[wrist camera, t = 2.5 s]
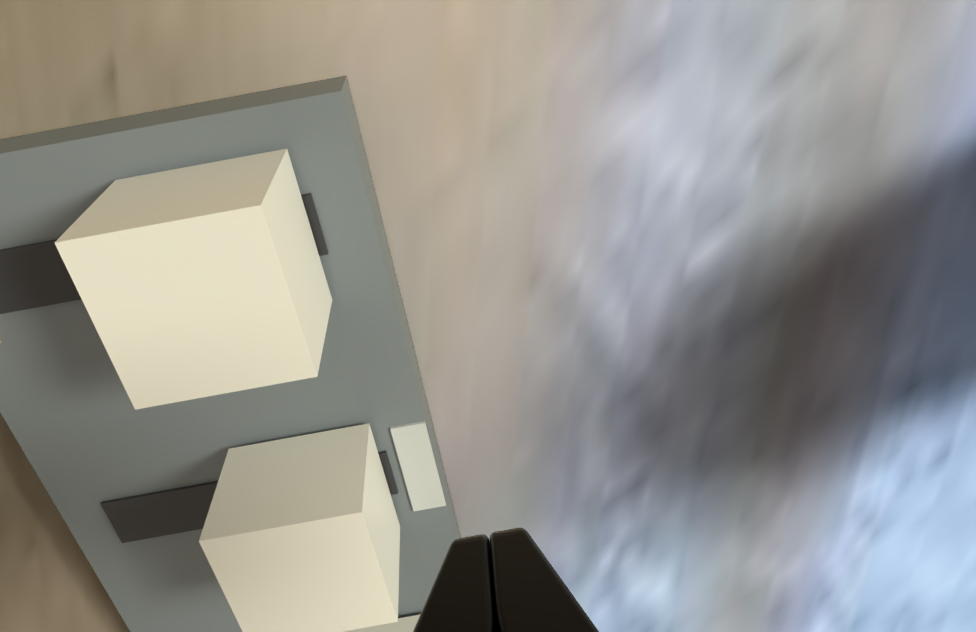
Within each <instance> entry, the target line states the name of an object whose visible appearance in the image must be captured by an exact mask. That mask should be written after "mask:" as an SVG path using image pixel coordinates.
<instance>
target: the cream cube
mask: <svg viewBox="0 0 976 632" xmlns="http://www.w3.org/2000/svg"><path fill="white" fill-rule="evenodd" d="M419 616H420V615H415V616H409V617H403V618H398V622H393V623H388V624H382V625H376V626H371V627H365V628H360V629H354V630H348V631H343V632H413V630H414V628H415V626H416V623H417V621H418V619H419Z"/></svg>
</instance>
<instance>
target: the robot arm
mask: <svg viewBox="0 0 976 632" xmlns="http://www.w3.org/2000/svg"><path fill="white" fill-rule="evenodd" d="M413 632H599V631H598V630H597V628H596V627H595V626H594V624H593V623H592V621H591V620H590V619H589V617H588V616H587V614H586V613H585V612H584V610H583V609H582V607H581V606H580V605H579V603H578V602H577V600H576V599H575V598H574V596H573V595H572V593H571V592H570V591H569V589H568V588H567V586H566V585H565V584H564V582H563V581H562V579H561V578H560V577H559V575H558V574H557V572H556V571H555V570H554V568H553V567H552V565H551V564H550V563H549V561H548V560H547V559H546V557H545V556H544V554H543V553H542V552H541V550H540V549H539V547H538V546H537V545H536V543H535V542H534V540H533V539H532V538H531V536H530V535H529V533H528V532H527V531H526V530H525V529H523V528H515V529H509V530H504V531H498V532H494V533H492V534H491V536H490V541H489V538H488V537H487V536H486V535H476V536H470V537H465V538H459V539H455V540H454V541H453V542H452V543H451V545H450V547H449V549H448V551H447V554H446V556H445V558H444V561H443V563H442V565H441V568H440V570H439V572H438V575H437V577H436V579H435V582H434V584H433V586H432V588H431V591H430V593H429V595H428V598H427V600H426V602H425V605H424V607H423V609H422V612H421V614H420V616H419V619H418V621H417V623H416V626H415V628H414V630H413Z"/></svg>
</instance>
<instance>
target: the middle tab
mask: <svg viewBox="0 0 976 632" xmlns="http://www.w3.org/2000/svg"><path fill="white" fill-rule="evenodd" d="M199 543H200V545H201V547H202V549H203V551H204V553H205V555H206V557H207V559H208V561H209V564H210V566H211V568H212V570H213V572H214V574H215V576H216V578H217V580H218V582H219V584H220V586H221V588H222V590H223V592H224V595H225V597H226V599H227V601H228V603H229V605H230V607H231V609H232V611H233V613H234V615H235V617H236V619H237V621H238V623H239V626H240V628H241V630H242V632H343V631H348V630H354V629H360V628H365V627H371V626H376V625H382V624H388V623H393V622H398V597H399V554H400V524H399V521H398V518H397V514H396V511H395V508H394V504H393V501H392V497H391V494H390V491H389V487H388V484H387V481H386V477H385V474H384V471H383V467H382V464H381V461H380V457H379V454H378V451H377V447H376V444H375V441H374V437H373V434H372V431H371V427H370V424H369V423H368V424H363V425H357V426H352V427H346V428H341V429H335V430H330V431H324V432H318V433H313V434H307V435H302V436H296V437H291V438H285V439H280V440H274V441H268V442H263V443H257V444H252V445H246V446H241V447H235V448H230V449H228V453H227V456H226V459H225V462H224V465H223V468H222V471H221V474H220V477H219V480H218V484H217V487H216V490H215V493H214V496H213V499H212V502H211V505H210V508H209V511H208V514H207V518H206V521H205V524H204V527H203V530H202V533H201V536H200V539H199Z"/></svg>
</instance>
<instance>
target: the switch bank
mask: <svg viewBox="0 0 976 632" xmlns="http://www.w3.org/2000/svg"><path fill="white" fill-rule="evenodd" d="M282 149H287V150H288V153H289V157H290V160H291V163H292V167H293V170H294V173H295V177H296V180H297V183H298V187H299V190H300V193H301V197H302V200H303V203H304V207H305V210H306V213H307V217H308V220H309V224H310V227H311V230H312V234H313V237H314V240H315V244H316V247H317V250H318V254H319V257H320V260H321V264H322V267H323V270H324V274H325V277H326V280H327V284H328V287H329V290H330V294H331V297H332V304H331V309H330V314H329V319H328V324H327V330H326V335H325V340H324V345H323V350H322V355H321V361H320V366H319V371H318V376H317V377H313V378H308V379H302V380H297V381H291V382H286V383H280V384H275V385H269V386H264V387H258V388H252V389H247V390H241V391H236V392H230V393H225V394H219V395H214V396H208V397H203V398H197V399H192V400H186V401H181V402H175V403H169V404H164V405H158V406H153V407H147V408H142V409H136V410H135V408H134V406H133V404H132V402H131V400H130V398H129V396H128V394H127V392H126V390H125V388H124V386H123V384H122V382H121V380H120V377H119V375H118V373H117V371H116V369H115V367H114V365H113V363H112V361H111V359H110V357H109V355H108V353H107V351H106V349H105V346H104V344H103V342H102V340H101V338H100V336H99V334H98V332H97V330H96V328H95V326H94V324H93V322H92V320H91V318H90V315H89V313H88V311H87V309H86V307H85V305H84V303H83V301H82V299H81V297H80V295H79V293H78V291H77V289H76V287H75V284H74V282H73V280H72V278H71V276H70V274H69V272H68V270H67V268H66V266H65V264H64V262H63V260H62V258H61V256H60V253H59V251H58V249H57V247H56V245H55V242H56V241H57V240H58V239H59V238H60V237H61V236H62V234H63V233H64V232H65V231H66V230H67V229H68V228H69V227H70V226H71V225H72V224H73V223H74V222H75V221H76V220H77V219H78V218H79V217H80V216H81V215H82V214H83V213H84V212H85V211H86V210H87V209H88V208H89V207H90V206H91V205H92V204H93V203H94V202H95V201H96V200H97V199H98V197H99V196H100V195H101V194H102V193H103V192H104V191H105V190H106V189H107V188H108V187H109V186H110V185H111V184H112V183H113V182H114V181H115V180H118V179H124V178H129V177H135V176H140V175H146V174H151V173H157V172H162V171H167V170H173V169H178V168H184V167H189V166H195V165H200V164H206V163H211V162H216V161H222V160H227V159H233V158H238V157H244V156H249V155H255V154H260V153H265V152H271V151H276V150H282ZM0 413H1V415H2V416H3V418H4V420H5V422H6V423H7V425H8V427H9V428H10V430H11V432H12V433H13V435H14V437H15V438H16V440H17V442H18V443H19V445H20V447H21V448H22V450H23V452H24V454H25V455H26V457H27V459H28V460H29V462H30V464H31V465H32V467H33V469H34V470H35V472H36V474H37V475H38V477H39V479H40V481H41V482H42V484H43V486H44V487H45V489H46V491H47V492H48V494H49V496H50V497H51V499H52V501H53V502H54V504H55V506H56V507H57V509H58V511H59V513H60V514H61V516H62V518H63V519H64V521H65V523H66V524H67V526H68V528H69V529H70V531H71V533H72V534H73V536H74V538H75V540H76V541H77V543H78V545H79V546H80V548H81V550H82V551H83V553H84V555H85V556H86V558H87V560H88V561H89V563H90V565H91V566H92V568H93V570H94V572H95V573H96V575H97V577H98V578H99V580H100V582H101V583H102V585H103V587H104V588H105V590H106V592H107V593H108V595H109V597H110V599H111V600H112V602H113V604H114V605H115V607H116V609H117V610H118V612H119V614H120V615H121V617H122V619H123V620H124V622H125V624H126V625H127V627H128V629H129V631H130V632H242V630H241V628H240V626H239V623H238V621H237V619H236V617H235V615H234V613H233V611H232V609H231V607H230V605H229V603H228V601H227V599H226V597H225V595H224V592H223V590H222V588H221V586H220V584H219V582H218V580H217V578H216V576H215V574H214V572H213V570H212V568H211V566H210V564H209V561H208V559H207V557H206V555H205V553H204V551H203V549H202V547H201V545H200V543H199V539H200V536H201V533H202V530H203V527H204V524H205V521H206V518H207V514H208V511H209V508H210V505H211V502H212V499H213V496H214V493H215V490H216V487H217V484H218V480H219V477H220V474H221V471H222V468H223V465H224V462H225V459H226V456H227V453H228V449H230V448H235V447H241V446H246V445H252V444H257V443H263V442H268V441H274V440H280V439H285V438H291V437H296V436H302V435H307V434H313V433H318V432H324V431H330V430H335V429H341V428H346V427H352V426H357V425H363V424H368V423H369V424H370V427H371V431H372V434H373V437H374V441H375V444H376V447H377V451H378V454H379V457H380V461H381V464H382V467H383V471H384V474H385V477H386V481H387V484H388V487H389V491H390V494H391V497H392V501H393V504H394V508H395V511H396V514H397V518H398V521H399V524H400V554H399V597H398V618H403V617H409V616H415V615H420V614H421V612H422V609H423V607H424V605H425V602H426V600H427V598H428V595H429V593H430V591H431V588H432V586H433V584H434V582H435V579H436V577H437V575H438V572H439V570H440V568H441V565H442V563H443V561H444V558H445V556H446V554H447V551H448V549H449V547H450V545H451V543H452V542H453V541H454V540H455V539H459V538H461V536H460V532H459V528H458V524H457V520H456V516H455V512H454V508H453V504H452V500H451V496H450V492H449V488H448V484H447V480H446V476H445V472H444V467H443V463H442V459H441V455H440V451H439V447H438V443H437V439H436V435H435V431H434V427H433V423H432V419H431V415H430V411H429V407H428V403H427V399H426V395H425V391H424V387H423V383H422V379H421V375H420V371H419V367H418V363H417V359H416V355H415V351H414V347H413V343H412V338H411V334H410V330H409V326H408V322H407V318H406V314H405V310H404V306H403V302H402V298H401V294H400V290H399V286H398V282H397V278H396V274H395V270H394V266H393V262H392V258H391V254H390V250H389V246H388V242H387V238H386V234H385V230H384V226H383V222H382V218H381V213H380V209H379V205H378V201H377V197H376V193H375V189H374V185H373V181H372V177H371V173H370V169H369V165H368V161H367V157H366V153H365V149H364V145H363V141H362V137H361V133H360V129H359V125H358V121H357V117H356V113H355V109H354V105H353V101H352V97H351V93H350V89H349V84H348V80H347V76H343V77H337V78H332V79H326V80H321V81H315V82H310V83H305V84H299V85H294V86H288V87H283V88H278V89H272V90H267V91H261V92H256V93H250V94H245V95H240V96H234V97H229V98H223V99H218V100H212V101H207V102H202V103H196V104H191V105H185V106H180V107H175V108H169V109H164V110H158V111H153V112H147V113H142V114H137V115H131V116H126V117H120V118H115V119H109V120H104V121H99V122H93V123H88V124H82V125H77V126H72V127H66V128H61V129H55V130H50V131H44V132H39V133H34V134H28V135H23V136H17V137H12V138H6V139H1V140H0Z"/></svg>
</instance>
